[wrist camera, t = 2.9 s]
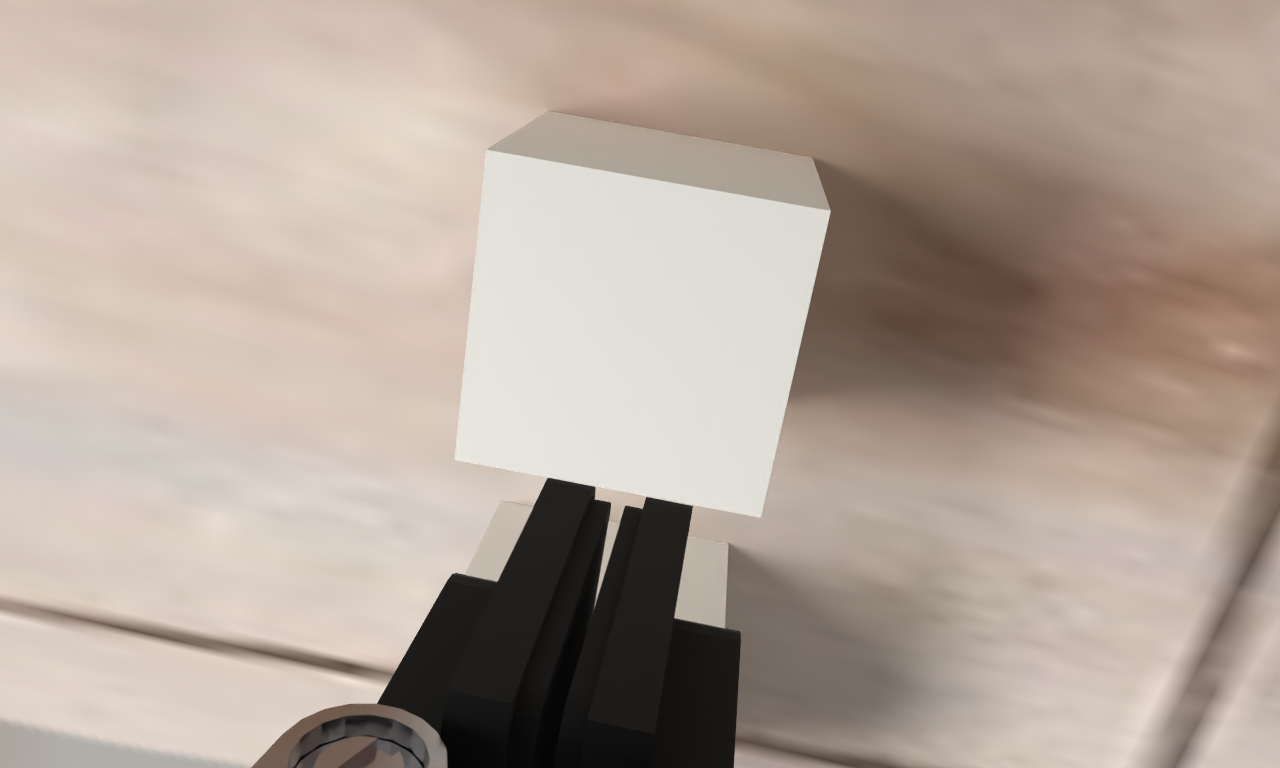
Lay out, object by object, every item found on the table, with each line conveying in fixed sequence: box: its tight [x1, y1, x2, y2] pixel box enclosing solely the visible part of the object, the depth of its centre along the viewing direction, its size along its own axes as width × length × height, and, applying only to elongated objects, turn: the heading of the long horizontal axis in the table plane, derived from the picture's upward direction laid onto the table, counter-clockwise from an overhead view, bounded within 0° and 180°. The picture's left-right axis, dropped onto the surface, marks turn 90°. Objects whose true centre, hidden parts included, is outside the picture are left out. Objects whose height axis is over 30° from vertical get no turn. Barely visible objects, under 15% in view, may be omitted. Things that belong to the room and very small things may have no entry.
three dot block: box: [465, 501, 729, 628], centre depth 25 cm, size 6×6×6 cm
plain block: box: [455, 111, 831, 518], centre depth 22 cm, size 6×6×6 cm
